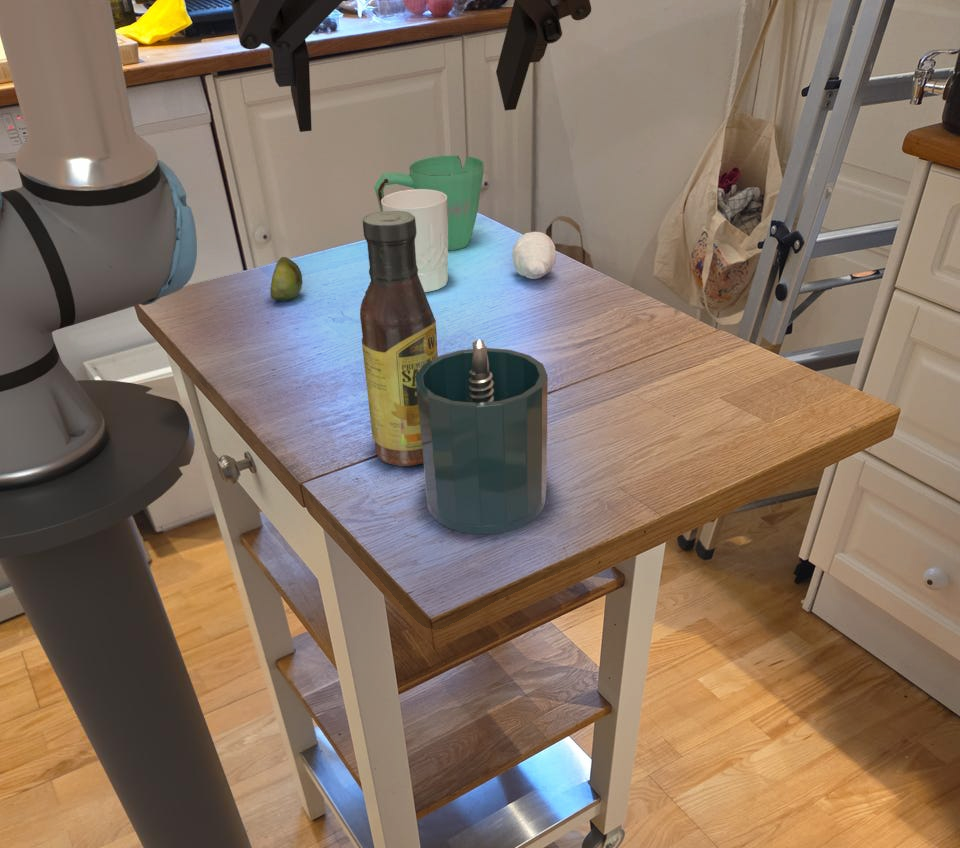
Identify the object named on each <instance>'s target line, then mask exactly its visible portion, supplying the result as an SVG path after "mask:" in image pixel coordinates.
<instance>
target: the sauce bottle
mask: <svg viewBox="0 0 960 848" xmlns="http://www.w3.org/2000/svg"><path fill="white" fill-rule="evenodd" d="M362 230H363V237H364V240H365V241H366V244H367V253H368V256H367V257H368V263H369V269H368V275H369V278H370V282H369V285H368V286H367V289H366V290H365V293H364V294H365V295H364V296H363V298H362V300H361V304H360V309H359V319H360V328H361V334H362V335H361V336H362V338H361V347H362V356H363V365H364V374H365V383H366V391H367V399H368V400H367V401H368V402H367V403H368V411H369V419H370V428H371V437H372V440H373V441H374V447H375V453H376V456H377V457H378V458H379V460H380V461H381V462H384V463H386V464H388V465H392V466H397V467H412V466H418V465H421V464H423V455H422V445H421V435H420V424H419V414H418V403H417V393H416V382H415V376H416V374H417V373H418V372H419V370H420V369H421V367H422V366H423V365H424V364H426V363H428V362H430V361H431V360H433V359H435V358H437V357H438V356H439V354H438V352H439V351H438V333H437V320H436V318H435V316H434V313H433V311H432V307H431V306H430V303H429V300H428V298H427V295H426V292H424V290H423V287H422V285H421V282H420V279H419V277H418V268H417V265H416V253H415V237H416V233H417V232H416V223H415V217H414V216H413V215H412V214H410V213H408V212H404V211H384V212H381V211H378V212H373V213H370V214H367V215H365V216H364V217H363V218H362Z"/></svg>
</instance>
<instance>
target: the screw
mask: <svg viewBox="0 0 960 848" xmlns="http://www.w3.org/2000/svg"><path fill="white" fill-rule="evenodd" d="M471 343H472V349H473V358H472V370H471V371H470V372H469V373H470V374H472V376H471V378H470V379H469V381H470V382H471V385H470V386H469V389H470V390H471V393H470V394H469V396H470V397H472V400H470V402H471V403H482V402H493V400H494V396H493V394H492V393H493V392H494V389H493V387H492V386H493V384H494V382H493V380H492V379H491V378H492V376H493V375H492V373H491V372H490V371H489V361H488V355H487V348H488V347H487V346H486V344H485V342H484V340H482V339H480V338H479V339H477V340H475V341H473V342H471Z"/></svg>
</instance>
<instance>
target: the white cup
mask: <svg viewBox="0 0 960 848" xmlns="http://www.w3.org/2000/svg"><path fill="white" fill-rule="evenodd" d="M381 204H382V211H383V212H384V211H404V212H408V213H410V214H412V215H413V216H414V217H415V223H416V232H417V233H416V237H415V253H416V265H417V268H418V277H419V279H420V282H421V285H422V287H423V290H424V292H425V293H429V292H434V291H438V290H441V289H442V288H444V287H445V286H447V284H448V281H449V268H448V267H449V266H448V260H449V250H448V212H447V195H446V194H445V193H443V192H440V191H436V190H429V189H414V188H412V189H404V190H399V191H395V192H391V193H389V194H386V195H384V197H383V198H382V200H381Z"/></svg>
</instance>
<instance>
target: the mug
mask: <svg viewBox="0 0 960 848" xmlns="http://www.w3.org/2000/svg"><path fill="white" fill-rule="evenodd" d="M484 165H485V164H484V161H483V160H481V158H477V157H474V156H468V155H467V156H466V158H465V160H464V165H463V166H462V161H461V159H460V157H459V155H457V154H453V155H452V154H451V155H448V154H447V155H437V156H430V157H426V158H422V159H419V160H415V161H413V162H412V163H411V164H410V165H409V168H408V170H409V174H406V173H401V172H400V173H399V172H385V173H382V174H381V175H380V176H379V179H378V180H377V181H376V182H375V184H374V186H373V188H374V191H375V195H376V199H377V202H378V206H379V210H380V212H383V211H382V204H381V200H382V198H383V197H385V194H384V193H385V192H384V190H385V187H386V186H391V185H399V186H403V187H408V188H412V189H429V190H436V191H440V192H443V193H445V194H446V195H447V212H448V251H456V250H460V249H464V248H466V247H468V246H469V244H470V241H471V237H472V235H473V232H474V228H475V223H476V220H477V216H478V211H479V206H480V197H481V196H480V195H481V190H482V185H483V178H484V171H485V170H484V168H485V166H484Z"/></svg>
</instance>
